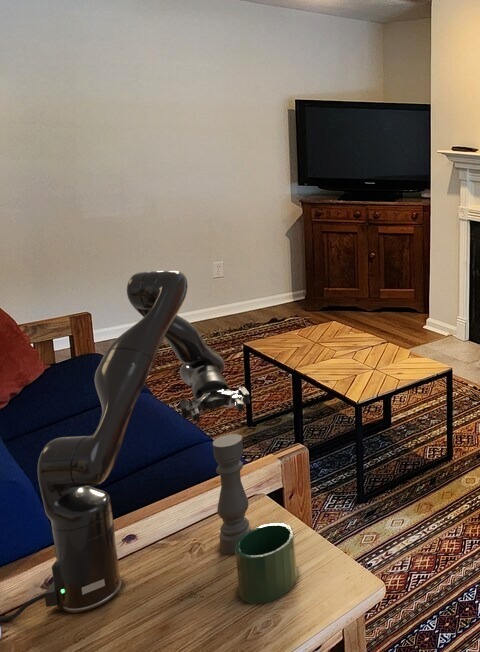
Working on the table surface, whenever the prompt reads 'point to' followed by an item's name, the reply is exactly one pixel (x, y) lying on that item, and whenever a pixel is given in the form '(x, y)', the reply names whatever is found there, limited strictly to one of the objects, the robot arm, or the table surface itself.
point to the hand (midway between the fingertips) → (219, 413)
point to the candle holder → (231, 491)
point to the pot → (266, 563)
